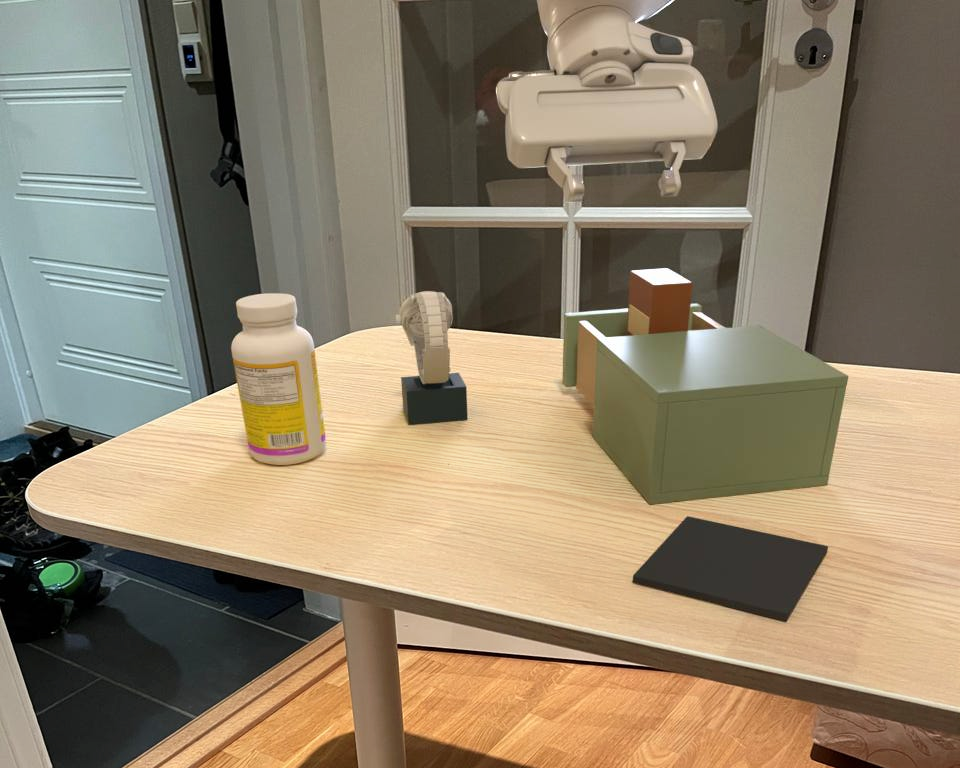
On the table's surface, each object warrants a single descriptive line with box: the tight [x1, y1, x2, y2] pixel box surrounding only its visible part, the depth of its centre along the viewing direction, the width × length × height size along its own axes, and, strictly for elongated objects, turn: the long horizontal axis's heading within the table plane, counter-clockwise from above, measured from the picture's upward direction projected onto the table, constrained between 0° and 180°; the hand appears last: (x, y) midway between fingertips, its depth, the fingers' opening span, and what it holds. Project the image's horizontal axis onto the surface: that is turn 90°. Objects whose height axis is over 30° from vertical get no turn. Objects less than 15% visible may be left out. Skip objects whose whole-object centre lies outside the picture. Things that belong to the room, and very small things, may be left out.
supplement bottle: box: [230, 292, 327, 466], centre depth 78 cm, size 7×7×13 cm
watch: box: [395, 290, 468, 426], centre depth 85 cm, size 6×8×11 cm
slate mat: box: [632, 515, 829, 622], centre depth 62 cm, size 10×10×1 cm
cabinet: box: [592, 324, 849, 505], centre depth 75 cm, size 15×15×9 cm
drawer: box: [561, 302, 726, 408], centre depth 88 cm, size 18×13×7 cm
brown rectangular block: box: [627, 267, 693, 336], centre depth 84 cm, size 6×4×10 cm, turn 11°
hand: (624, 195), depth 88 cm, fingers open, 8 cm apart
